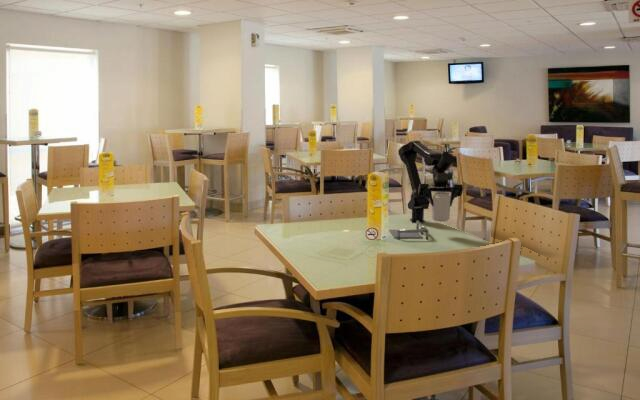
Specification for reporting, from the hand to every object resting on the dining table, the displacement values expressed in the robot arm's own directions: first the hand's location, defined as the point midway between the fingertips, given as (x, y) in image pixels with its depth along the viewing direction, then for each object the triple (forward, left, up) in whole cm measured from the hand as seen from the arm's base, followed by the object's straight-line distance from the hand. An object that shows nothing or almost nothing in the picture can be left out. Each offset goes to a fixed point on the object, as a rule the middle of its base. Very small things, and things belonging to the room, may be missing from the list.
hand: (441, 205), depth 238 cm
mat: (-2, -15, -13) cm, 20 cm away
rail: (-3, -13, -13) cm, 19 cm away
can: (-1, 0, -7) cm, 7 cm away
